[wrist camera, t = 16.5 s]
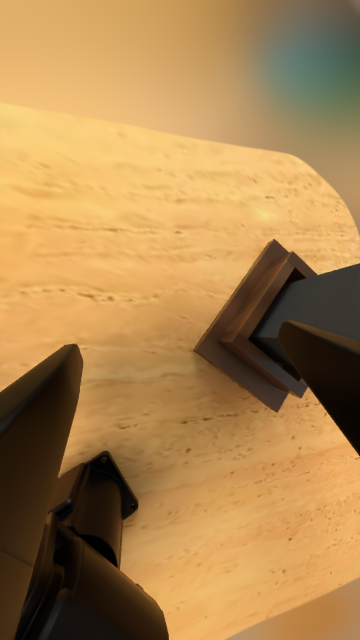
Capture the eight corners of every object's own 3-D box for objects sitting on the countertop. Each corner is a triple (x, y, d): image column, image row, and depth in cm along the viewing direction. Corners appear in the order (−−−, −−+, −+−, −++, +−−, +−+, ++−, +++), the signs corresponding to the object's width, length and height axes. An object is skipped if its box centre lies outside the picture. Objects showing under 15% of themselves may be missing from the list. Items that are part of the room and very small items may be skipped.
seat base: (271, 409, 23) (299, 426, 19) (193, 350, 21) (206, 355, 17) (333, 303, 25) (369, 299, 22) (268, 242, 24) (295, 225, 20)
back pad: (275, 361, 22) (432, 401, 10) (243, 335, 21) (374, 346, 10) (305, 313, 23) (476, 299, 12) (275, 287, 22) (428, 243, 11)
